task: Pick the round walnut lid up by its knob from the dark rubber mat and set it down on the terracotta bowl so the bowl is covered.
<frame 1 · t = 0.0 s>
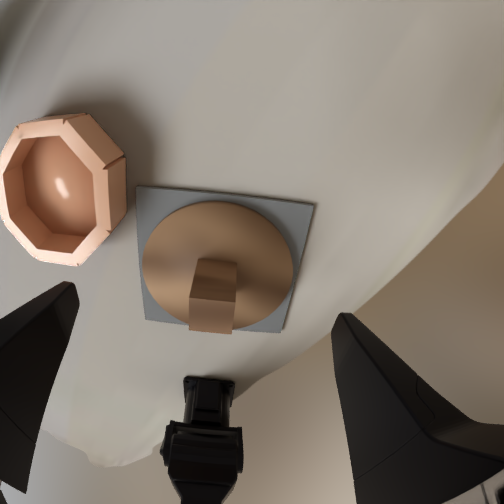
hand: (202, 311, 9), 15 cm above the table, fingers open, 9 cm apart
bowl: (65, 182, 21), on the table
lid: (216, 271, 26), resting on mat
mat: (216, 268, 26), on the table
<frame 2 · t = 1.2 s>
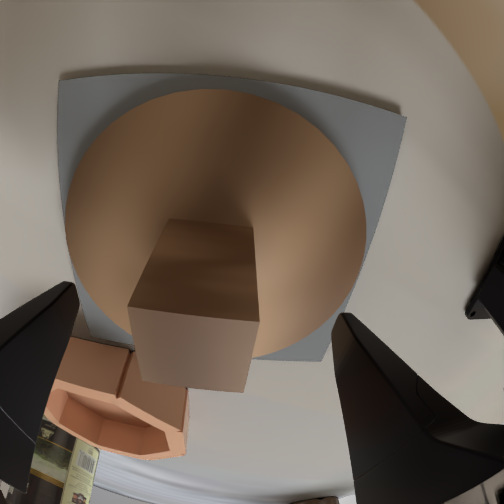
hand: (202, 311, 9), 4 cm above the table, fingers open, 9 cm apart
coffee can: (66, 432, 26), on the table
plant pot: (312, 501, 48), on the table
bowl: (114, 391, 19), on the table
lid: (209, 248, 12), resting on mat
mat: (210, 244, 13), on the table
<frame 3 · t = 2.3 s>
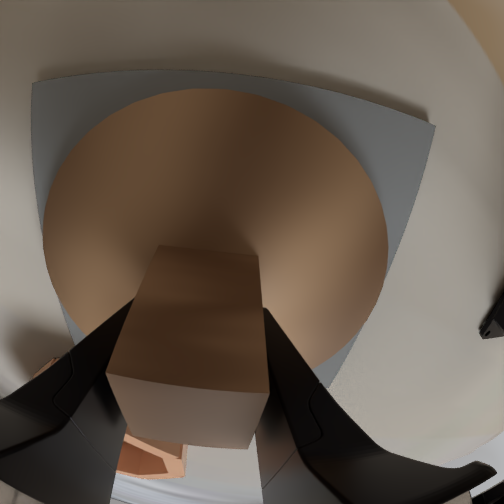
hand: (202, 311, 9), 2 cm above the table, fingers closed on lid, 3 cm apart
bowl: (109, 412, 17), on the table
lid: (207, 276, 11), resting on mat, touching gripper
mat: (208, 270, 11), on the table
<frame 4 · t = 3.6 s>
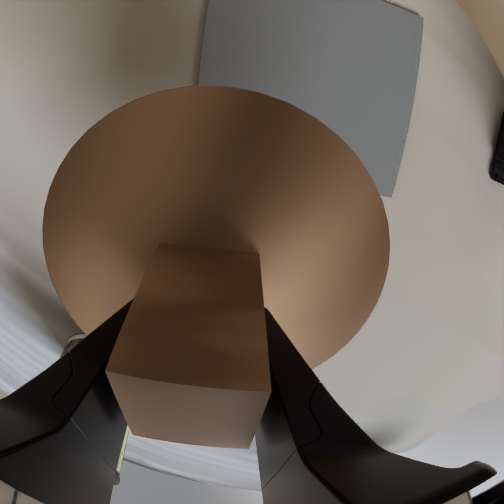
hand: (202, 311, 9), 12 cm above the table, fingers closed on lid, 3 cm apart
coffee can: (104, 361, 30), on the table
lid: (208, 275, 11), point 10 cm above the table, touching gripper
mat: (314, 78, 16), on the table
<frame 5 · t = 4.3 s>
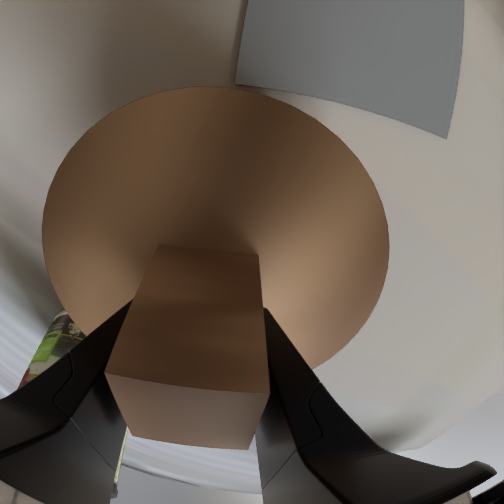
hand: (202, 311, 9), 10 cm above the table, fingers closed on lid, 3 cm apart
coffee can: (97, 345, 25), on the table
lid: (207, 276, 11), point 8 cm above the table, touching gripper
mat: (370, 6, 11), on the table
when the fingers open (7 cm above the table, at t = 5.0 s): lid drops 2 cm, resting on bowl.
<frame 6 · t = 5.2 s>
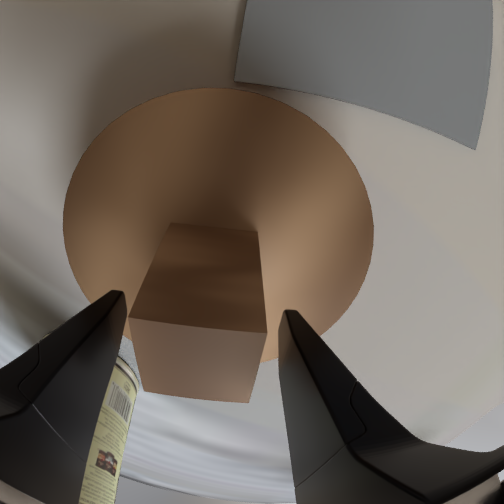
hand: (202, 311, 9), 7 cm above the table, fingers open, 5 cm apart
coffee can: (88, 368, 22), on the table
lid: (212, 253, 12), point 3 cm above the table, touching bowl
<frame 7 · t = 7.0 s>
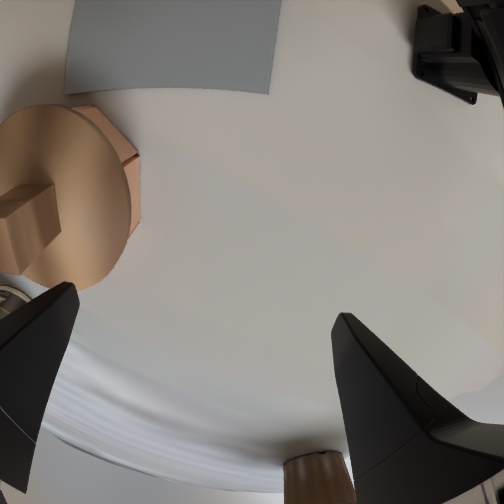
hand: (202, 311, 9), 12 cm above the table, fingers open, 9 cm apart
coffee can: (23, 320, 26), on the table
plant pot: (313, 460, 47), on the table
bowl: (68, 186, 19), on the table
lid: (45, 203, 16), point 3 cm above the table, touching bowl
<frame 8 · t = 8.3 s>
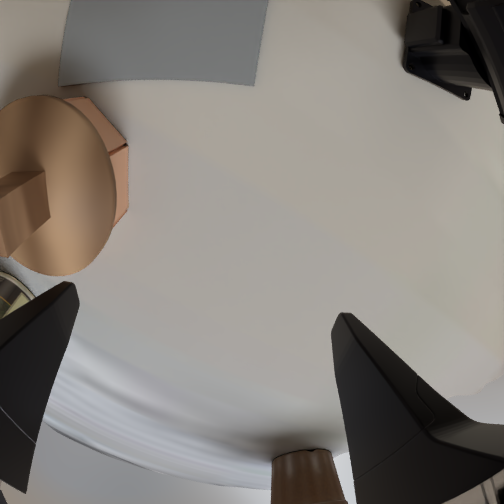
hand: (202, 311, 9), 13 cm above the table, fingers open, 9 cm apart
coffee can: (16, 305, 26), on the table
plant pot: (302, 457, 48), on the table
bowl: (61, 174, 19), on the table
lid: (36, 189, 16), point 3 cm above the table, touching bowl
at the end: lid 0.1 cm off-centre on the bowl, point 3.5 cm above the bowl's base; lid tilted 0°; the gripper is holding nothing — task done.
